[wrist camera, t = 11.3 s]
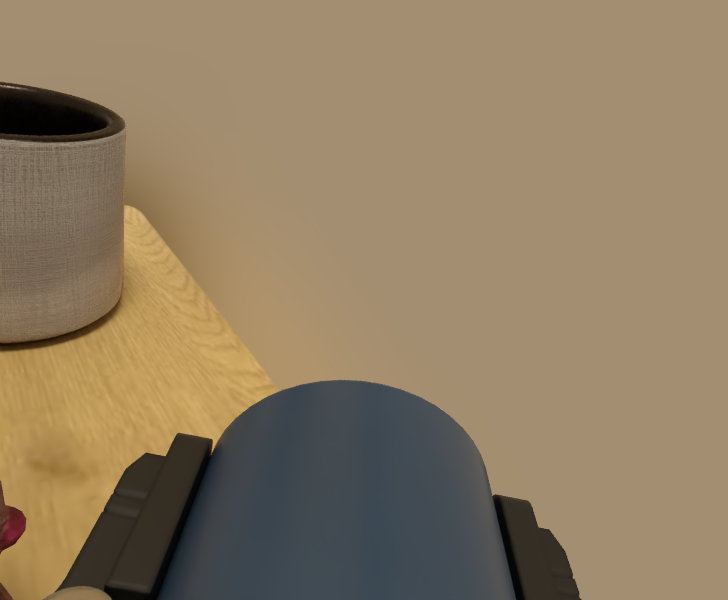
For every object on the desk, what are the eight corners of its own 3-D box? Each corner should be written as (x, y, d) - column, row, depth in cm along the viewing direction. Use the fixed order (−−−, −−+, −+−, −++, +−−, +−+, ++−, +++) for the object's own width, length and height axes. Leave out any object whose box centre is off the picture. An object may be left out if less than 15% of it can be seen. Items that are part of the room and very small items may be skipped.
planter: (-119, 367, 36) (-168, 126, 29) (-103, 258, 48) (-135, 64, 41) (141, 339, 45) (151, 148, 38) (103, 252, 57) (105, 92, 50)
